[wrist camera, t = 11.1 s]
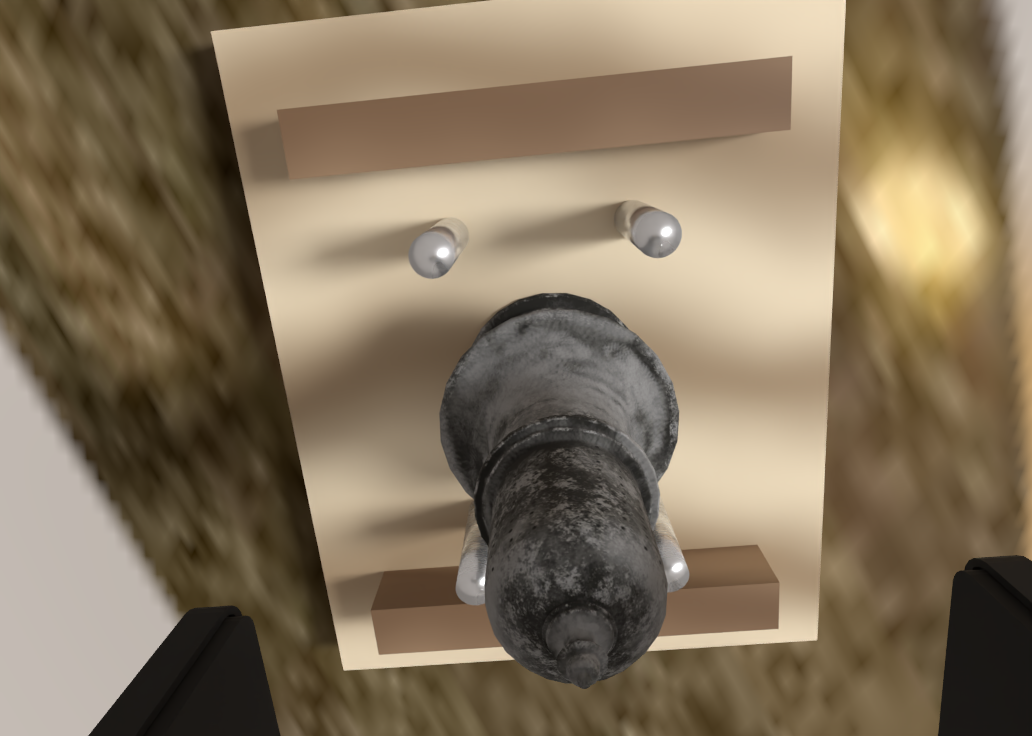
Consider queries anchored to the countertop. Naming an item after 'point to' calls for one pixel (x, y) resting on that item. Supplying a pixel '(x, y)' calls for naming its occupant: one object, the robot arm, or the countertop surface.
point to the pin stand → (549, 278)
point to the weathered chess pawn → (565, 481)
